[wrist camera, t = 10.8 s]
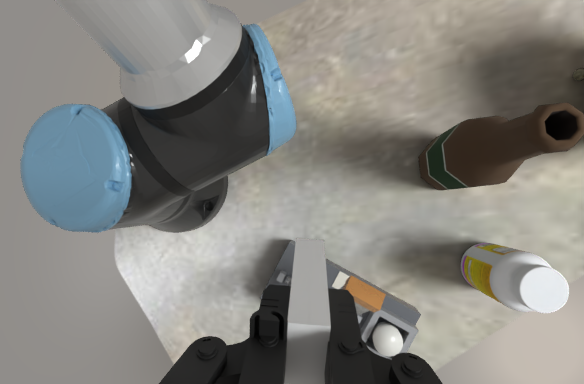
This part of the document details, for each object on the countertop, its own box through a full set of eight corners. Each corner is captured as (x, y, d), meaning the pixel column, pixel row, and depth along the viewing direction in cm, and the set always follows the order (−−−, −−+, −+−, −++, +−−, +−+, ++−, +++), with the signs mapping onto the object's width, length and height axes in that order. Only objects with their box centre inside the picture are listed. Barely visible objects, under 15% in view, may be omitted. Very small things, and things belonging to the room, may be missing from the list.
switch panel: (385, 362, 47) (391, 381, 42) (264, 292, 49) (256, 302, 44) (415, 307, 46) (425, 319, 41) (291, 239, 49) (287, 244, 44)
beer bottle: (409, 183, 47) (489, 163, 23) (424, 131, 47) (520, 58, 23) (464, 198, 46) (606, 193, 22) (479, 145, 46) (639, 84, 22)
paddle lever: (347, 323, 44) (380, 310, 33) (321, 308, 44) (344, 290, 33) (352, 310, 44) (385, 294, 34) (326, 296, 45) (351, 275, 34)
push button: (391, 354, 43) (394, 362, 41) (366, 340, 43) (368, 347, 41) (404, 330, 43) (408, 336, 41) (379, 316, 43) (382, 322, 41)
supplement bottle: (482, 299, 45) (542, 337, 33) (448, 263, 46) (493, 286, 33) (520, 268, 45) (595, 294, 32) (485, 232, 46) (545, 243, 33)
